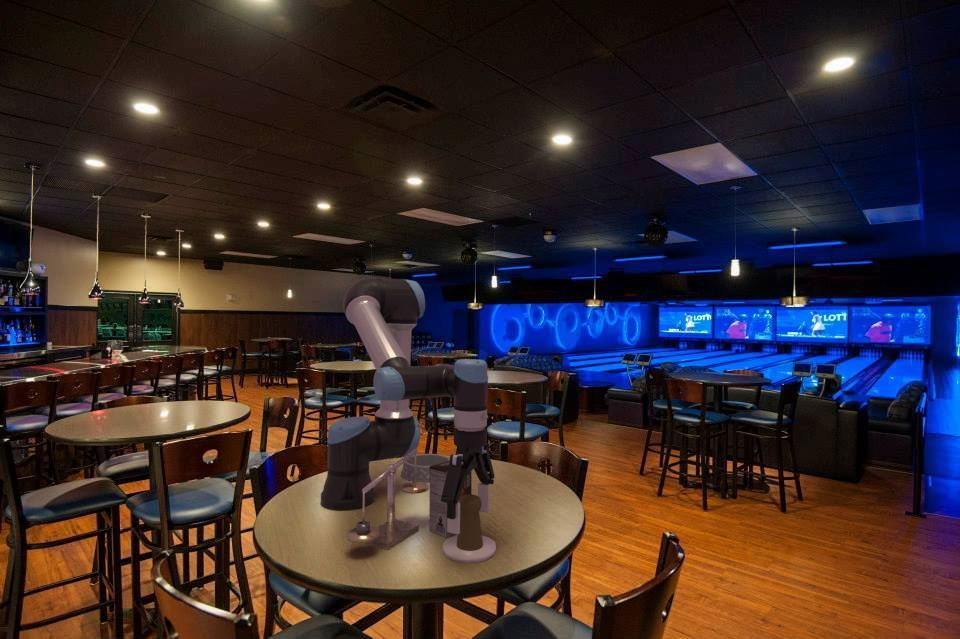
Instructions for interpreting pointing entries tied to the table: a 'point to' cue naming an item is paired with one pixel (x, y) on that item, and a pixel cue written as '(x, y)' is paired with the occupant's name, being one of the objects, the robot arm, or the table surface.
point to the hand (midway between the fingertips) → (469, 521)
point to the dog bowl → (421, 466)
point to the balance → (388, 512)
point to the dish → (469, 556)
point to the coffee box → (436, 506)
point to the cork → (470, 523)
